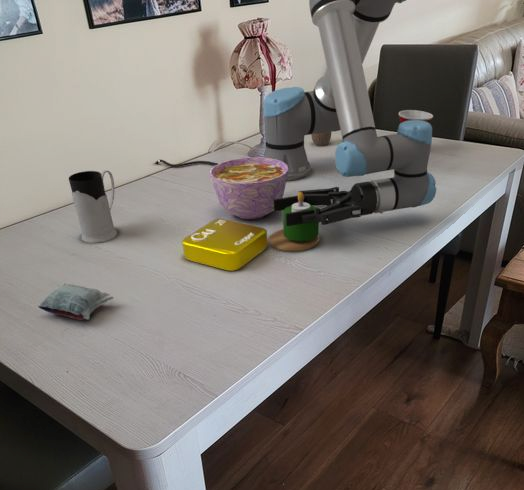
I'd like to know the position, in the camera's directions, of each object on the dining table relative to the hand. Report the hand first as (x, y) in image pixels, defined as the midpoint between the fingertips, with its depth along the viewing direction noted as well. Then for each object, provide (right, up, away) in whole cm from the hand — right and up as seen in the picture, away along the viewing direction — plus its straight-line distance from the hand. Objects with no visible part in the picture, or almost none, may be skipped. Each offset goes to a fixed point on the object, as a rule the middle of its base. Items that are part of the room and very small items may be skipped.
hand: (280, 212), depth 123 cm
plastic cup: (+45, +34, +55) cm, 79 cm away
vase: (+17, +41, +67) cm, 80 cm away
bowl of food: (-7, +5, +20) cm, 22 cm away
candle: (+5, -4, +5) cm, 8 cm away
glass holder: (-44, -1, +15) cm, 47 cm away
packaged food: (-41, -24, -15) cm, 49 cm away
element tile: (-12, -9, +2) cm, 15 cm away
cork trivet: (+3, -5, +5) cm, 8 cm away
